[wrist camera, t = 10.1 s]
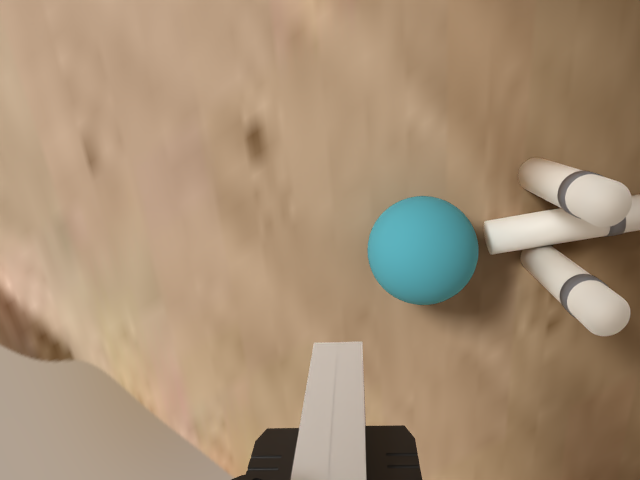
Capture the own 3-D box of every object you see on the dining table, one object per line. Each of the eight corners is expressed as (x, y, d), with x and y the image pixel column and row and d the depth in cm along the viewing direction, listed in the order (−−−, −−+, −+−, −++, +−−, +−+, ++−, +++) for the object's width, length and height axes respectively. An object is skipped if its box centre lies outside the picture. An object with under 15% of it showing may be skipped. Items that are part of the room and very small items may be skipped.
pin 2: (513, 251, 32) (573, 307, 23) (545, 233, 31) (618, 284, 22) (529, 279, 32) (595, 345, 23) (561, 261, 31) (639, 322, 23)
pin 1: (510, 169, 30) (571, 196, 22) (543, 149, 30) (619, 168, 21) (527, 199, 31) (594, 237, 22) (560, 179, 30) (641, 211, 22)
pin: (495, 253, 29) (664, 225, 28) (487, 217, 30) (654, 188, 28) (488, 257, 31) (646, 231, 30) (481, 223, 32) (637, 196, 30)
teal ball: (370, 236, 25) (498, 239, 24) (369, 175, 30) (475, 177, 29) (366, 326, 28) (478, 329, 28) (365, 258, 33) (460, 260, 33)
